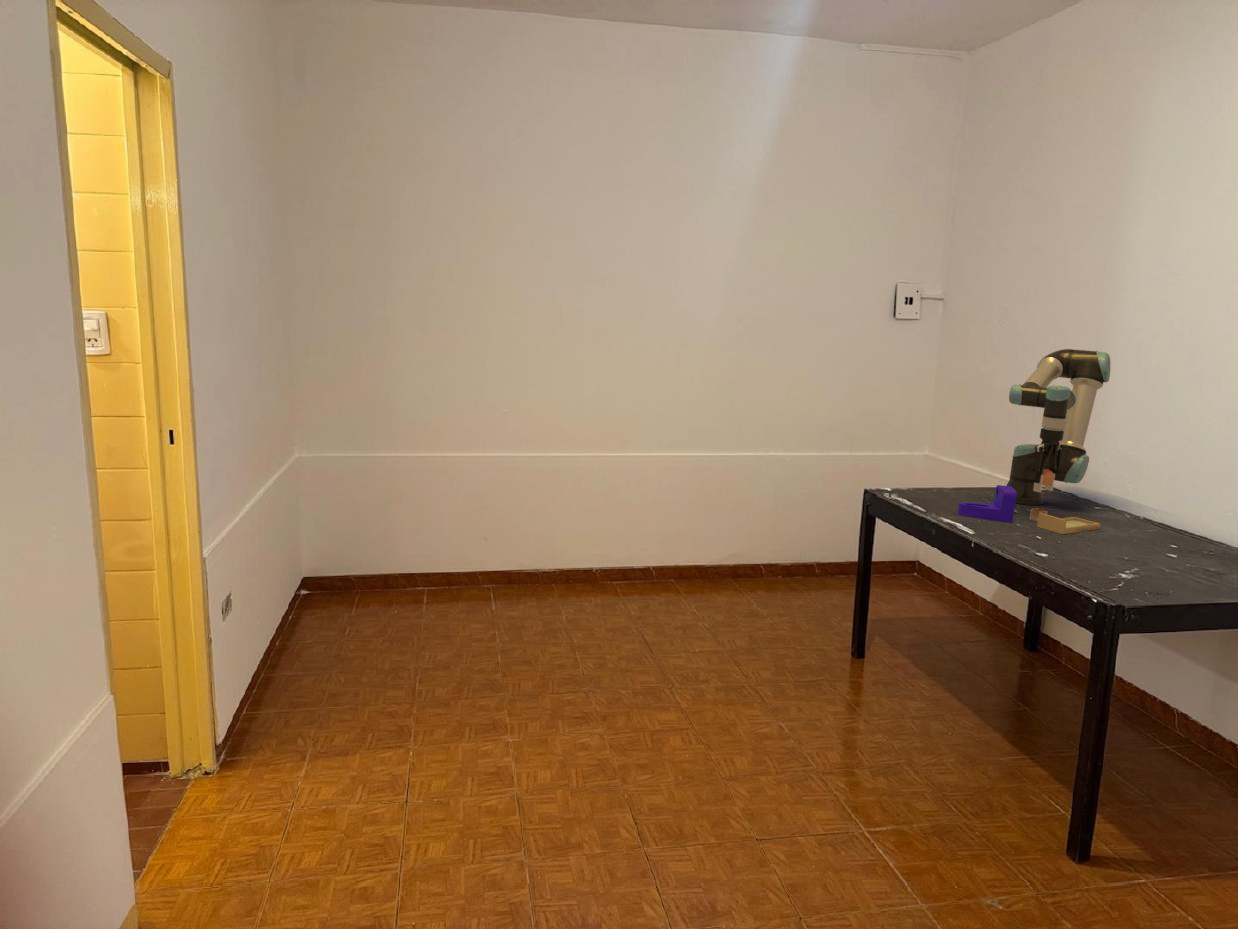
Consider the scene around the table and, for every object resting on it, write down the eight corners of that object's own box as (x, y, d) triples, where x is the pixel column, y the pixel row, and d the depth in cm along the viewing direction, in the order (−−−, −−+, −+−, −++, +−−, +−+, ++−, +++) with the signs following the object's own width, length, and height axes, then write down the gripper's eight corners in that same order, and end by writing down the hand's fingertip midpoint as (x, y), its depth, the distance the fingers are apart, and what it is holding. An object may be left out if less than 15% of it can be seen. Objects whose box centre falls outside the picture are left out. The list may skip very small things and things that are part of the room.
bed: (1073, 522, 320) (1075, 508, 319) (1099, 529, 312) (1101, 515, 311) (1036, 526, 310) (1039, 513, 309) (1062, 534, 301) (1065, 520, 300)
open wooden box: (1036, 518, 322) (1037, 508, 321) (1046, 521, 319) (1047, 510, 318) (1029, 519, 320) (1031, 509, 319) (1039, 522, 317) (1040, 511, 316)
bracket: (1004, 515, 324) (1009, 485, 322) (1012, 523, 314) (1017, 491, 311) (954, 510, 327) (958, 480, 325) (960, 517, 317) (964, 486, 314)
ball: (1041, 482, 321) (1044, 467, 320) (1056, 486, 316) (1058, 470, 315) (1031, 484, 318) (1033, 468, 317) (1045, 487, 313) (1048, 471, 312)
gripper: (1059, 425, 320) (1049, 486, 325) (1026, 428, 311) (1017, 490, 316) (1078, 429, 314) (1068, 491, 319) (1045, 431, 305) (1035, 495, 310)
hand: (1042, 490), depth 318 cm, fingers closed on ball, 6 cm apart
